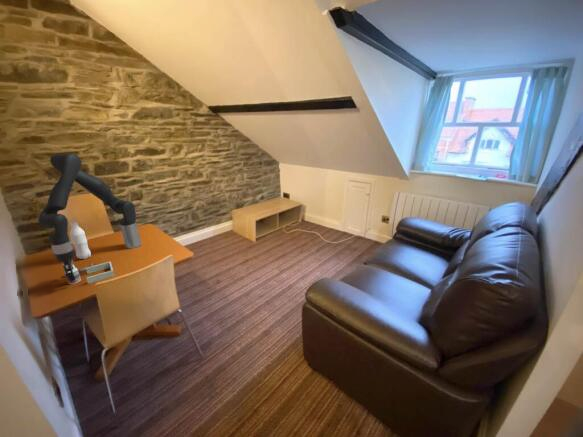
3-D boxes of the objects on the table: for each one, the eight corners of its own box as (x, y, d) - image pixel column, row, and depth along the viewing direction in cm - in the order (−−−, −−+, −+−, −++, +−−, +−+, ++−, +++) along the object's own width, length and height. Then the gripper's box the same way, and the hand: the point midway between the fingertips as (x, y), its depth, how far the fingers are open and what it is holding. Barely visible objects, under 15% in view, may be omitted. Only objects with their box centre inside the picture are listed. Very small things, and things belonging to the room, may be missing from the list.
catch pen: (112, 266, 146) (110, 261, 145) (114, 275, 137) (113, 270, 136) (87, 273, 139) (85, 268, 138) (88, 283, 130) (86, 278, 129)
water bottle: (83, 260, 151) (71, 224, 142) (74, 259, 153) (62, 223, 144) (94, 255, 158) (83, 220, 149) (85, 254, 159) (74, 218, 150)
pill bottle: (67, 281, 131) (61, 266, 128) (80, 277, 135) (74, 262, 132) (69, 285, 128) (63, 270, 125) (82, 281, 132) (77, 266, 129)
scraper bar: (94, 267, 146) (92, 262, 145) (94, 271, 141) (93, 267, 140) (65, 274, 138) (64, 270, 137) (65, 279, 134) (63, 274, 133)
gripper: (72, 253, 122) (81, 280, 128) (73, 243, 132) (81, 268, 138) (52, 257, 117) (62, 285, 123) (54, 247, 128) (63, 273, 133)
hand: (72, 276), depth 130 cm, fingers open, 8 cm apart
